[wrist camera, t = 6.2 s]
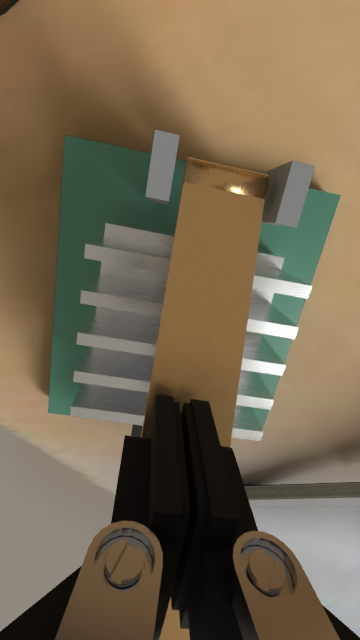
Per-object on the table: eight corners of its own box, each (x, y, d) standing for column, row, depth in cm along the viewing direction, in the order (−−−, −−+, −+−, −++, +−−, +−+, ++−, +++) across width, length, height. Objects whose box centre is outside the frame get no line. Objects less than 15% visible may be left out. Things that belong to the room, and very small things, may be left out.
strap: (184, 169, 12) (188, 150, 11) (258, 185, 12) (270, 168, 11) (109, 625, 11) (104, 661, 9) (194, 630, 11) (200, 667, 10)
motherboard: (72, 140, 18) (-22, 69, 9) (328, 196, 20) (464, 183, 11) (55, 400, 24) (-13, 515, 15) (253, 427, 25) (300, 545, 16)
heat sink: (111, 222, 18) (86, 226, 12) (273, 253, 19) (317, 270, 13) (95, 370, 21) (69, 427, 16) (234, 390, 22) (256, 451, 17)
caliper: (428, 445, 27) (501, 510, 21) (427, 454, 27) (499, 521, 21) (201, 489, 28) (210, 564, 22) (203, 498, 28) (213, 574, 22)
